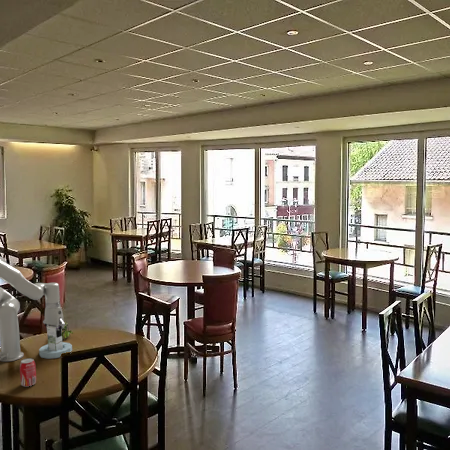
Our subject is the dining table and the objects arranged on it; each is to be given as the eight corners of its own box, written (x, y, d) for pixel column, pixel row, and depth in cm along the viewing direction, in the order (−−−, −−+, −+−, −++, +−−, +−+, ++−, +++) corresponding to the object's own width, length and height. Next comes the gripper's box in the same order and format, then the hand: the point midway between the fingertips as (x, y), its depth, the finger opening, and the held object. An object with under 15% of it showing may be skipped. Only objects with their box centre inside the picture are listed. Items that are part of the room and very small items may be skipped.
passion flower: (58, 346, 297) (54, 328, 302) (75, 340, 300) (71, 322, 305) (55, 341, 287) (51, 322, 292) (73, 335, 290) (69, 317, 295)
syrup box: (63, 349, 272) (61, 324, 271) (56, 352, 267) (54, 327, 265) (54, 348, 274) (53, 323, 273) (47, 351, 269) (46, 326, 267)
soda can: (23, 381, 232) (22, 358, 231) (38, 381, 233) (37, 357, 232) (18, 388, 225) (17, 363, 224) (34, 387, 226) (32, 362, 225)
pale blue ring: (56, 360, 259) (55, 354, 259) (33, 355, 267) (32, 350, 266) (78, 349, 275) (77, 344, 274) (55, 345, 282) (55, 340, 282)
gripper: (69, 304, 267) (71, 335, 269) (46, 301, 275) (48, 332, 277) (59, 308, 261) (61, 340, 263) (36, 305, 268) (38, 336, 270)
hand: (54, 335), depth 270 cm, fingers closed on syrup box, 6 cm apart
